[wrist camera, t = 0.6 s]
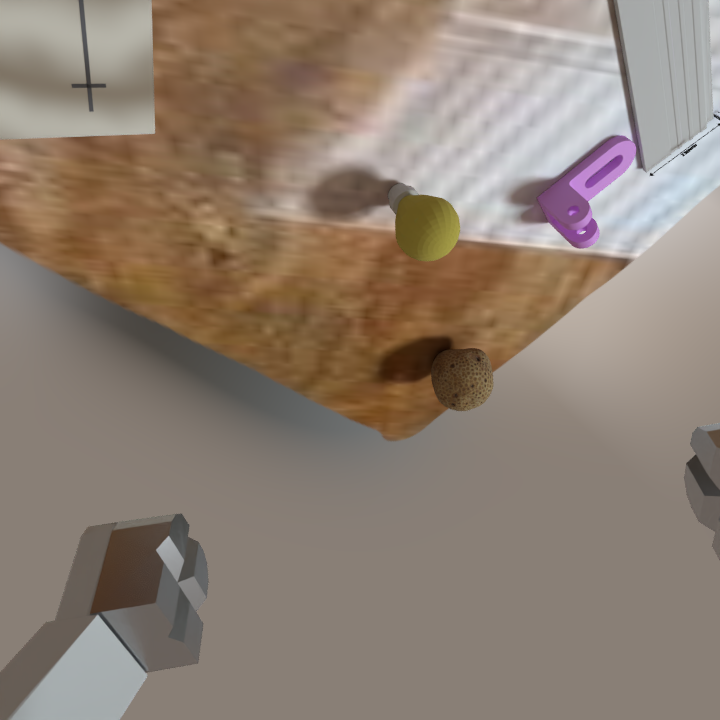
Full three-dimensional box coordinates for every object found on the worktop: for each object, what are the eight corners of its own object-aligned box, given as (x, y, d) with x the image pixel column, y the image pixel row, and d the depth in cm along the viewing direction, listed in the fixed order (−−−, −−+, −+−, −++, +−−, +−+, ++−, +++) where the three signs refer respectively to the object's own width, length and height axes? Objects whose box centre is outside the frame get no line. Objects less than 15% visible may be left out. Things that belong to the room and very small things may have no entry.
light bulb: (381, 229, 76) (423, 285, 70) (360, 188, 71) (404, 245, 65) (431, 196, 76) (478, 249, 70) (415, 153, 70) (464, 206, 64)
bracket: (548, 221, 88) (580, 253, 84) (535, 197, 83) (569, 229, 79) (632, 154, 86) (670, 184, 81) (624, 126, 81) (663, 155, 77)
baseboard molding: (709, -133, 62) (600, -45, 64) (733, -124, 61) (619, -35, 62) (717, 108, 87) (638, 166, 89) (734, 118, 85) (653, 178, 87)
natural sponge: (463, 319, 95) (501, 369, 89) (477, 350, 102) (514, 398, 96) (409, 355, 95) (443, 407, 89) (427, 383, 103) (460, 433, 97)
